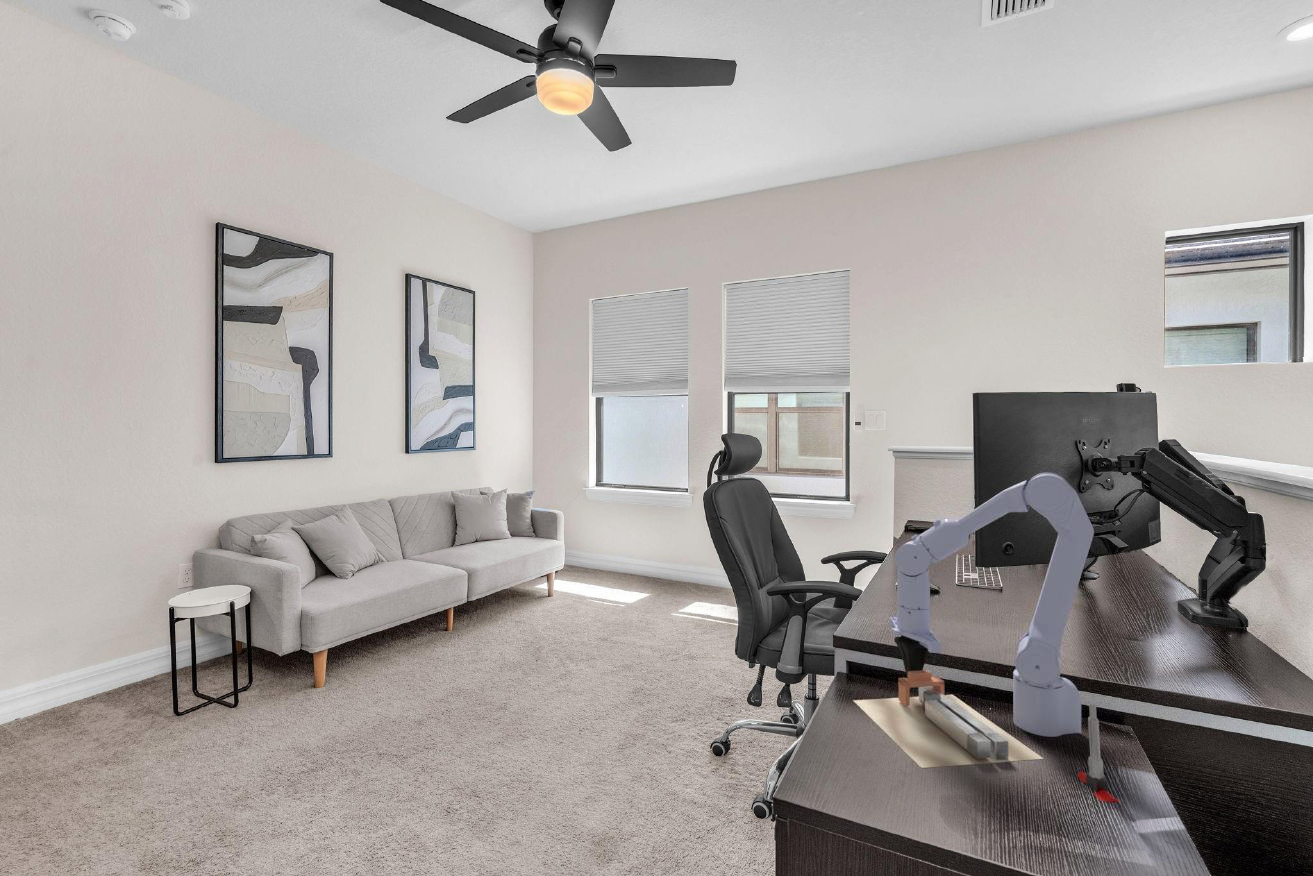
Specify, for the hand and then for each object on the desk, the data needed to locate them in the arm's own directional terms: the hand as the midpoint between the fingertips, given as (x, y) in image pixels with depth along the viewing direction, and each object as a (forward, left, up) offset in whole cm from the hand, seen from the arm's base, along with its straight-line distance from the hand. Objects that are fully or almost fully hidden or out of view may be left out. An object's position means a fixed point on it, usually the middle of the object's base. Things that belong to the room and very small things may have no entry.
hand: (913, 677), depth 111 cm
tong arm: (+1, +15, -3) cm, 15 cm away
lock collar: (0, +3, -4) cm, 4 cm away
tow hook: (-6, +29, -5) cm, 30 cm away
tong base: (-1, +11, -4) cm, 12 cm away
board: (+2, +11, -5) cm, 12 cm away
